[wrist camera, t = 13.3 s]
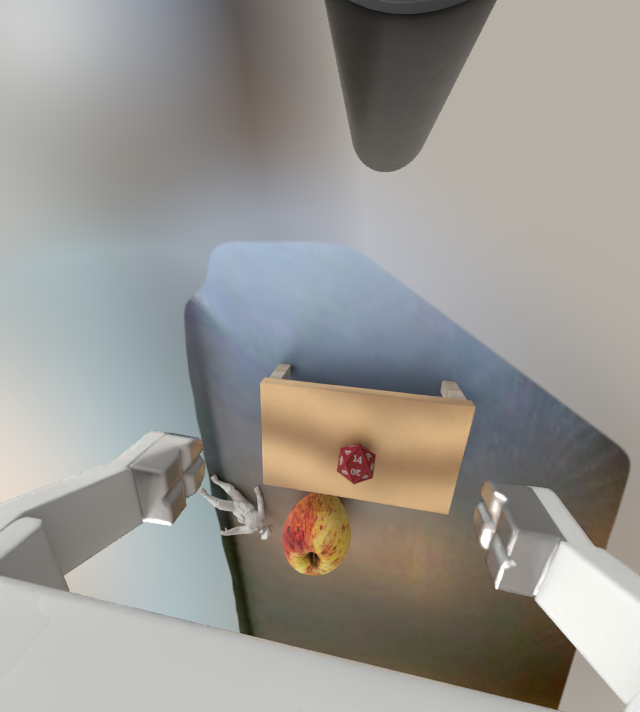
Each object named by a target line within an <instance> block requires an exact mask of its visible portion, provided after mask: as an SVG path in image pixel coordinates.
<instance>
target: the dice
mask: <svg viewBox="0 0 640 712" xmlns="http://www.w3.org/2000/svg"><path fill="white" fill-rule="evenodd" d="M375 458H376V454H374V453H373V452H371V451H370V450H368V449H367V448H365V447H363V446H362V445H360V444H359V443H358V444H354V445H350V446H346V447H342V448H340V453H339V460H338V466H337V472H339V473H340V474H341V475H343V476H344V477H345V478H346V479H348V480H349V481H350V482H352V483H353V484H356V483H359V482H362V481H366V480H369V479H372V478H373V473H374V465H375Z"/></svg>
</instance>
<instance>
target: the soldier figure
mask: <svg viewBox="0 0 640 712" xmlns="http://www.w3.org/2000/svg"><path fill="white" fill-rule="evenodd" d="M211 479H212V481H213V482H214V483H216V484H218V485H220V486H221V487H222V488H223V489H225V491H226V493H228V494H229V495H230V496H231V497H232V499H233V500H234V501H226V500H221V499H218V498H215V497H214V496H211V495H209V494H208V493H206V490H204V489H203V488H202V489H201V490H200V491H199V494H202V495H203V496H205V497H206V499H208V500H209V501H210V502H211V503H212V504H213V506H214V507H217V508H218V509H221V510H226V511H233V514H234V515H236V516H237V517H238V521H239V522H240V523H241V524H242V523H244V524H245V525H246V526H242V527H235V528H233V529H230V530H228V531H227V529H226V528H225V529H226V531H225V532H223V531H220V533H221V534H222V535H234V534H241V533H242V534H243V533H251V534H252V533H253V532H255V530H260V529H261V528H262V526H263V525H264V524H263V520H264V518H265V512H264V505H263V497H262V494H261V492H260V489H259V488H258V486H257V487H256V488H255V489H254V491H255V490H256V491H257V492H256V491H255V492H256V494H257V502H258V511H257V510H255V509H254V508H255V507H254V505H253V504H250V503H249V502H248V501H247V499H246V498H244V497H243V495H242V494H241V493H240V492H239V491H238V490H236V489H234V486H232V485H231V484H230V483H229V484H228V483H224V482H222V481H219V480H218V478H217V476H216V475H214V476H213V477H212V478H211ZM272 530H273V527H272V524H271V525H270V526H265V527H264V528H263V529H262V530H260V531H259V532H260V534H261V535H262V538H261V539H264V540H265V539H267V537H269V536H270V534H271V531H272Z"/></svg>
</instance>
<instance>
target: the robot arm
mask: <svg viewBox="0 0 640 712" xmlns="http://www.w3.org/2000/svg"><path fill="white" fill-rule="evenodd" d="M202 450H203V445H202V440H201V439H199V438H197V437H191V436H185V435H179V434H174V433H166V432H161V431H151V432H148V433H147V434H146V435H145V436H144V437H142V438H141V439H140V440H139V441H137V443H135V444H134V445H133V446H131V447H130V448H129V449H128V450H126V451H125V452H124V453H123V454H122V455H120V456H119V457H118V458H117V459H115V460H114V461H113V462H112V463H110V464H109V465H108V464H102V465H100V466H97V467H95V468H92V469H89V470H87V471H84V472H81V473H79V474H76V475H74V476H71V477H68V478H66V479H63V480H60V481H58V482H55V483H53V484H50V485H47V486H45V487H42V488H40V489H37V490H34V491H31V492H29V493H26V494H24V495H21V496H18V497H16V498H13V499H10V500H8V501H5V502H3V503H0V712H563V711H559V710H554V709H550V708H546V707H542V706H538V705H534V704H530V703H526V702H521V701H517V700H513V699H509V698H505V697H501V696H497V695H493V694H488V693H484V692H480V691H476V690H472V689H468V688H464V687H460V686H455V685H451V684H447V683H443V682H439V681H435V680H431V679H427V678H423V677H418V676H414V675H410V674H406V673H402V672H398V671H394V670H390V669H385V668H381V667H377V666H373V665H369V664H365V663H361V662H357V661H352V660H348V659H344V658H340V657H336V656H332V655H328V654H324V653H320V652H315V651H311V650H307V649H303V648H299V647H295V646H290V645H286V644H282V643H278V642H274V641H270V640H266V639H261V638H257V637H253V636H249V635H245V634H241V633H237V632H232V631H228V630H224V629H220V628H215V627H211V626H207V625H203V624H199V623H195V622H191V621H187V620H183V619H179V618H174V617H170V616H166V615H162V614H158V613H154V612H150V611H146V610H141V609H137V608H133V607H129V606H125V605H121V604H116V603H112V602H108V601H104V600H100V599H96V598H92V597H88V596H83V595H79V594H76V593H71V592H69V588H68V586H67V583H66V580H65V578H64V575H65V574H67V573H68V572H70V571H71V570H73V569H74V568H76V567H77V566H79V565H80V564H82V563H83V562H85V561H86V560H88V559H89V558H91V557H92V556H94V555H95V554H97V553H98V552H100V551H101V550H103V549H104V548H106V547H107V546H109V545H110V544H112V543H113V542H115V541H116V540H118V539H119V538H121V537H122V536H124V535H125V534H127V533H128V532H130V531H131V530H133V529H134V528H136V527H137V526H139V525H140V524H142V523H143V521H148V522H153V523H160V524H166V525H173V523H174V522H175V520H176V519H177V518H178V516H179V515H180V514H181V512H182V511H183V510H184V508H185V507H186V498H188V497H190V496H192V495H193V494H195V493H196V492H197V490H198V489H199V487H200V486H201V483H202V480H203V478H204V474H205V461H204V460H203V459H202V457H201V456H200V455H199V454H200V453H201V451H202ZM480 493H481V495H482V497H483V500H482V501H481V502H480V503H478V504H477V505H476V508H475V512H474V529H475V534H476V537H477V540H478V543H479V544H480V545H481V546H482V547H483V548H484V549H485V550H486V551H487V555H486V558H485V563H486V565H487V568H488V571H489V574H490V576H491V579H492V582H493V585H494V587H495V589H499V590H503V591H508V592H512V593H517V594H521V595H526V596H530V597H534V598H535V599H534V600H535V601H536V602H537V603H538V604H539V605H540V607H541V608H542V609H543V610H544V611H545V612H546V614H547V615H548V616H549V617H550V618H551V619H552V621H553V622H554V623H555V624H556V625H557V626H558V627H559V629H560V630H561V631H562V632H563V633H564V634H565V636H566V637H567V638H568V639H569V640H570V641H571V642H572V644H573V645H574V646H575V647H576V648H577V649H578V651H579V652H580V653H581V654H582V655H583V656H584V657H585V659H586V660H587V661H588V662H589V663H590V664H591V665H592V667H593V668H594V669H595V670H596V671H597V672H598V674H599V675H600V676H601V677H602V678H603V679H604V680H605V682H606V683H607V684H608V685H609V686H610V687H611V689H612V690H613V691H614V692H615V693H616V694H617V696H618V697H619V698H620V699H621V700H622V701H623V702H624V704H625V705H626V706H625V707H624V708H623V710H622V711H621V712H640V574H638V573H637V572H635V571H634V570H633V569H631V568H630V567H628V566H627V565H626V564H624V563H623V562H621V561H620V560H619V559H617V558H616V557H614V556H613V555H611V554H610V553H609V552H607V551H606V550H604V549H603V548H598V547H595V546H594V545H593V543H592V542H591V541H590V539H589V538H588V537H587V535H586V534H585V533H584V531H583V530H582V529H581V527H580V526H579V525H578V523H577V522H576V521H575V519H574V518H573V517H572V515H571V514H570V513H569V511H568V510H567V509H566V507H565V506H564V505H563V503H562V502H561V501H560V499H559V498H558V497H557V495H556V494H555V493H554V492H553V491H552V490H550V489H548V488H540V487H532V486H521V485H514V484H507V483H500V482H493V481H485V482H484V483H483V485H482V488H481V491H480Z"/></svg>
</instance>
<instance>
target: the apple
mask: <svg viewBox="0 0 640 712" xmlns="http://www.w3.org/2000/svg"><path fill="white" fill-rule="evenodd" d="M350 541H351V529H350V523H349V518H348V515H347V513H346V510H345V508H344V506H343V504H342V502H341V500H340V499H339V497H338V496H333V495H327V494H321V493H315V492H314V493H311V494H309V495H307V496H305V497H304V498H302V499H301V500H300V501H299V502H298V503H297V504H296V505H295V506H294V508H293V509H292V511H291V512H290V514H289V516H288V518H287V520H286V523H285V526H284V529H283V548H284V552H285V555H286V558H287V560H288V561H289V563H290V564H291V565H292V566H293V567H294V568H295V569H296V570H297V571H299V572H300V573H302V574H308V575H322V574H326V573H328V572H330V571H332V570H334V569H335V568H336V567H337V566H338V565H339V564H340V563H341V562H342V560H343V559H344V557H345V556H346V553H347V551H348V549H349V545H350Z"/></svg>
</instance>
